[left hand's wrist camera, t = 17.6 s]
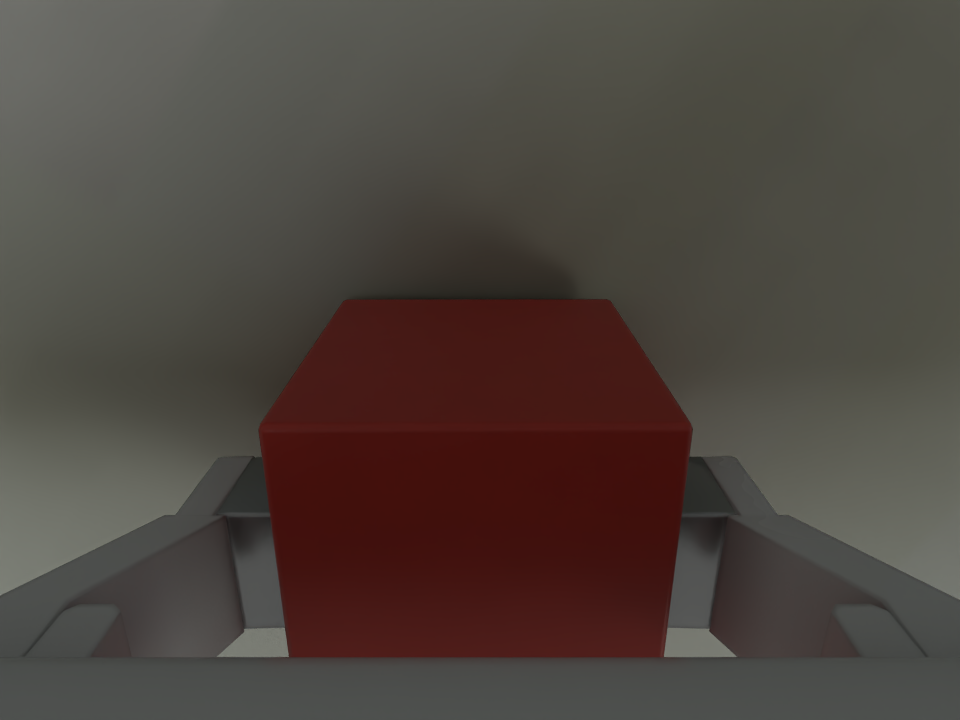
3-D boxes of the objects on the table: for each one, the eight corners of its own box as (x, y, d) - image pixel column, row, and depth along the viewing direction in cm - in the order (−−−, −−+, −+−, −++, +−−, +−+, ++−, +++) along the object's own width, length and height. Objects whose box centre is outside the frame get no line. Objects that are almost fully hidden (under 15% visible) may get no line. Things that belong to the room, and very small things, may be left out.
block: (342, 297, 12) (253, 426, 7) (611, 297, 12) (696, 425, 7) (361, 548, 13) (302, 776, 9) (593, 548, 13) (651, 776, 9)
